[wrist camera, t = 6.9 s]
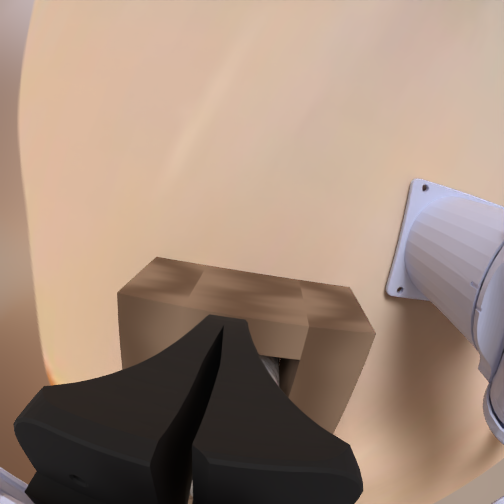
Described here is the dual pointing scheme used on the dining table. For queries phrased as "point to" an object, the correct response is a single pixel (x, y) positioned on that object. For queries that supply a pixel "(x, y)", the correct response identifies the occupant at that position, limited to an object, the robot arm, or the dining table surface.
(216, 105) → the dining table surface
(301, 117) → the dining table surface
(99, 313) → the dining table surface
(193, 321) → the housing
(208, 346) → the robot arm
